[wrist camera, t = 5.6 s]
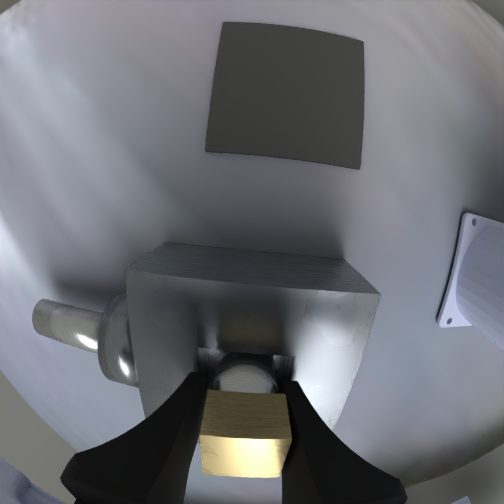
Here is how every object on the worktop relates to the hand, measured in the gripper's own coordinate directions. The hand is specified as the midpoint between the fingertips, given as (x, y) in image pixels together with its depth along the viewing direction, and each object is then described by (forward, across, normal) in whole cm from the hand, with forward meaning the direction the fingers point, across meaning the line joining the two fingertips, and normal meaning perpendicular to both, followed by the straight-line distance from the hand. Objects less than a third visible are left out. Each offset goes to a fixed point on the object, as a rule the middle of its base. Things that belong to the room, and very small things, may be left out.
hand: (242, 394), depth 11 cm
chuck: (+5, +4, 0) cm, 7 cm away
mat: (+5, -1, -14) cm, 15 cm away
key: (+3, 0, 0) cm, 3 cm away
